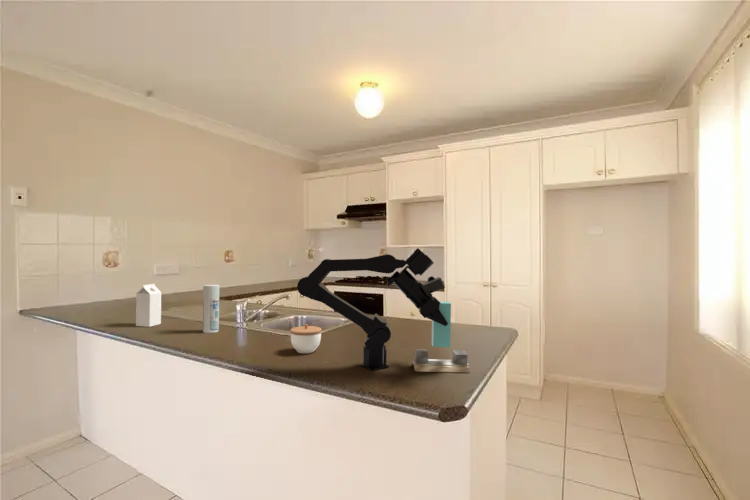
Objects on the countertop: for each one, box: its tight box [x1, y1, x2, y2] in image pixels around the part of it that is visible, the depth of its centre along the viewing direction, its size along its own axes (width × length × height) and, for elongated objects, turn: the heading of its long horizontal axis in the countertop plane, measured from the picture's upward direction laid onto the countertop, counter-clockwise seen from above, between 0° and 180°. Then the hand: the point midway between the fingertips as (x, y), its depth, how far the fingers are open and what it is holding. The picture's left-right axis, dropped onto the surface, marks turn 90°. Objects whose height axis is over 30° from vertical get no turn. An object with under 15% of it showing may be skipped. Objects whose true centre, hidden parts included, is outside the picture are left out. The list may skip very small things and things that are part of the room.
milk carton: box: [135, 283, 162, 328], centre depth 171 cm, size 7×7×19 cm
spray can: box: [202, 284, 221, 334], centre depth 160 cm, size 6×6×20 cm
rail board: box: [412, 348, 471, 374], centre depth 112 cm, size 16×7×5 cm, turn 87°
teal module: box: [431, 301, 452, 348], centre depth 113 cm, size 5×4×13 cm
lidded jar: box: [290, 323, 322, 354], centre depth 130 cm, size 11×11×9 cm
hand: (445, 323), depth 112 cm, fingers closed on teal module, 4 cm apart
